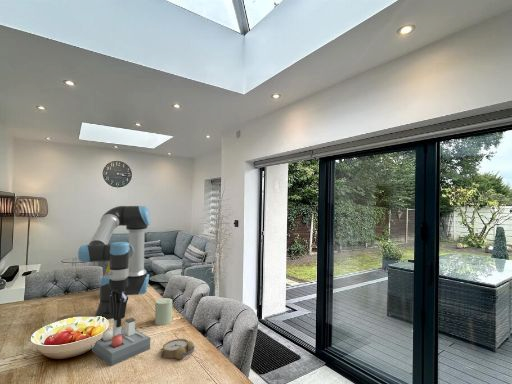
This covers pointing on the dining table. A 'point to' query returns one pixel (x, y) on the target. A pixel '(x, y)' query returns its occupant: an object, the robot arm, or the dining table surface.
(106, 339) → the button cream
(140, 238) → the robot arm
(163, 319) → the can
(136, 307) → the dining table surface
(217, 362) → the dining table surface
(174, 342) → the alarm clock
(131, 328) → the slider knob
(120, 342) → the button red
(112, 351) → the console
